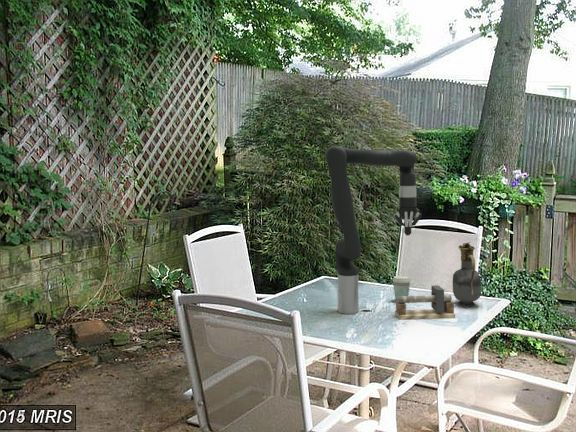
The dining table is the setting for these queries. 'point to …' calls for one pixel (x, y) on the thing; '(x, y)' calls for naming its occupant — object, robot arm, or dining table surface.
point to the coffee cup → (401, 286)
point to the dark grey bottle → (467, 278)
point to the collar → (438, 298)
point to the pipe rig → (426, 313)
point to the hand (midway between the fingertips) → (407, 235)
